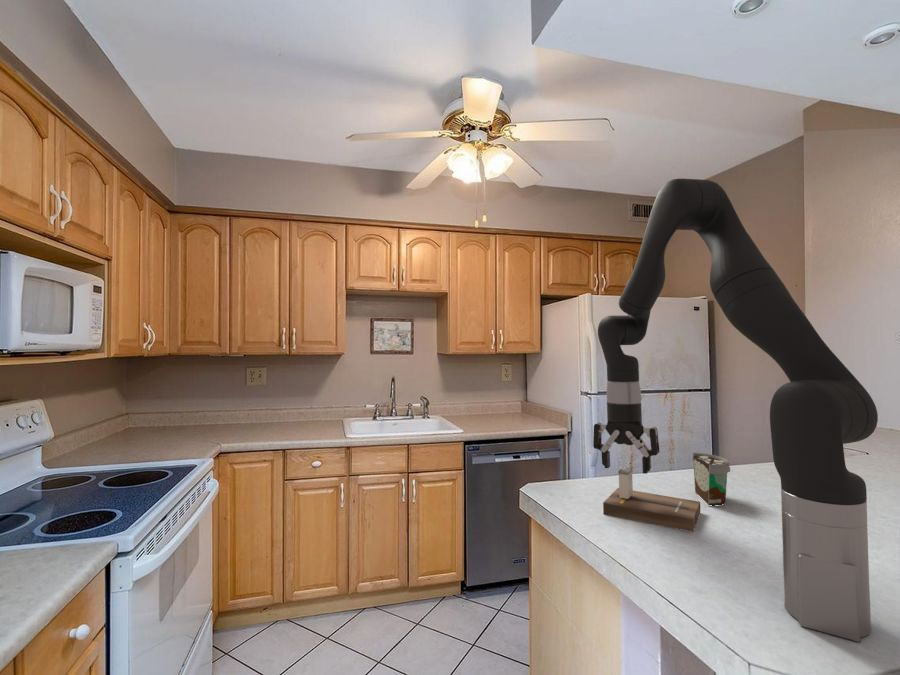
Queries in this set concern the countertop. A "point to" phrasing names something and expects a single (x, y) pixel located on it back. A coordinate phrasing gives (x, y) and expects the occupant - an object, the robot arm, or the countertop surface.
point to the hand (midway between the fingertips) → (626, 470)
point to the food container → (710, 477)
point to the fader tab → (625, 482)
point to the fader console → (654, 509)
